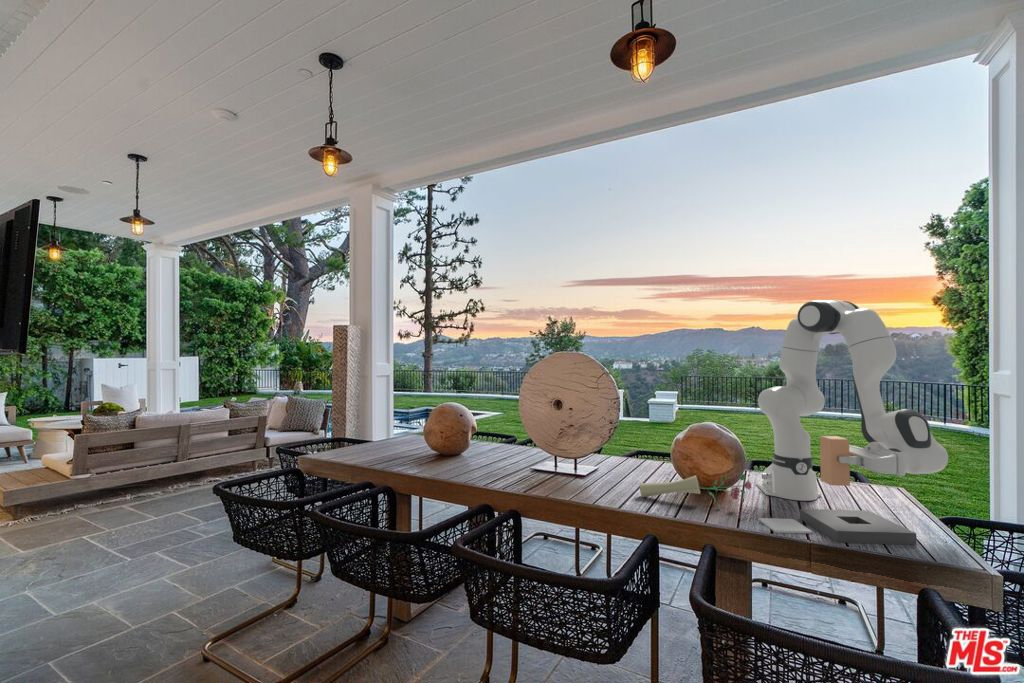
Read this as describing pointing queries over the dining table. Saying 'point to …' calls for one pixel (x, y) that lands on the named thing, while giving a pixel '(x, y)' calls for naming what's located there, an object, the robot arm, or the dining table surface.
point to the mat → (784, 525)
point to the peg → (834, 460)
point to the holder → (857, 527)
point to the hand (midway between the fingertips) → (831, 456)
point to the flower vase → (688, 487)
